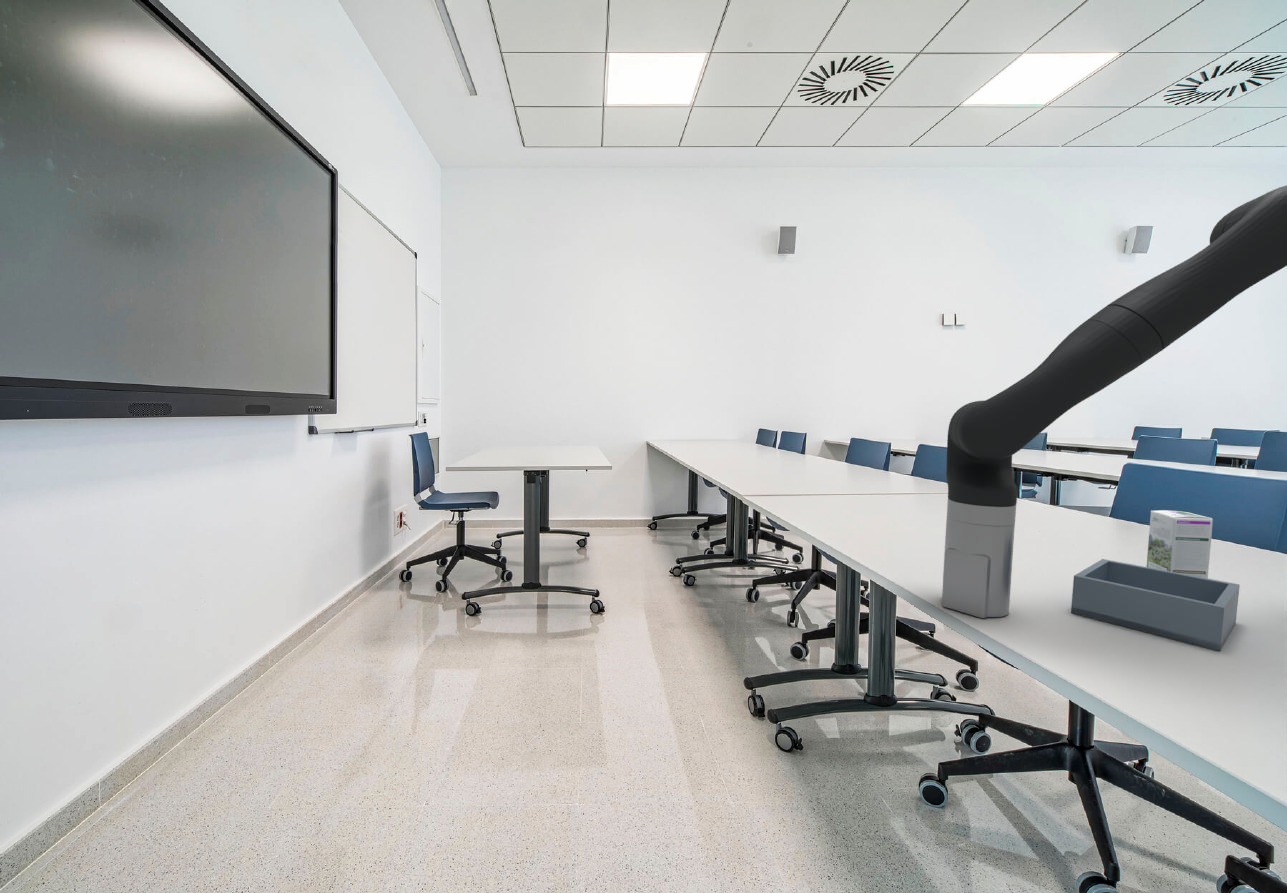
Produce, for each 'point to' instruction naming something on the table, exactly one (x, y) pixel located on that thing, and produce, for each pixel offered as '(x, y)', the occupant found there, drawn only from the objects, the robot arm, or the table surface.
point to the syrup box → (1179, 542)
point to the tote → (1157, 602)
